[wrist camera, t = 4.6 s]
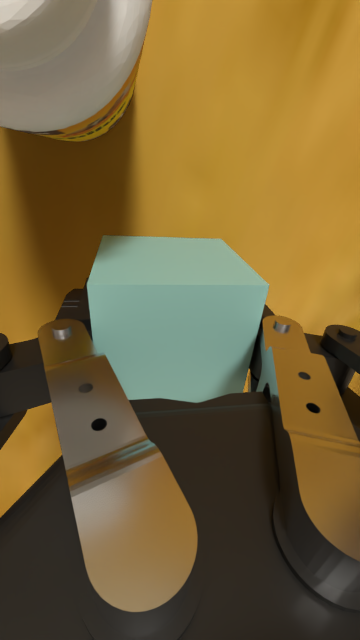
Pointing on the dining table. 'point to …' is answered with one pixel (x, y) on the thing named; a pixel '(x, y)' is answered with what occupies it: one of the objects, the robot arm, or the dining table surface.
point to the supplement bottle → (69, 64)
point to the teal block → (175, 315)
